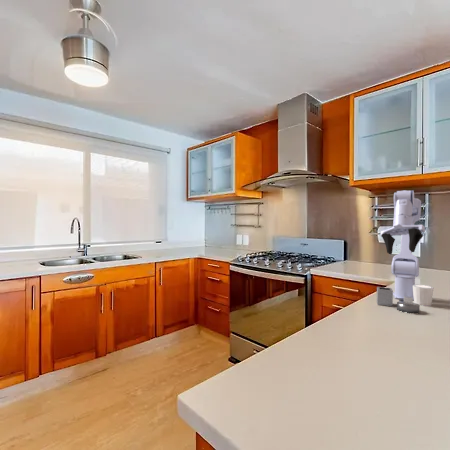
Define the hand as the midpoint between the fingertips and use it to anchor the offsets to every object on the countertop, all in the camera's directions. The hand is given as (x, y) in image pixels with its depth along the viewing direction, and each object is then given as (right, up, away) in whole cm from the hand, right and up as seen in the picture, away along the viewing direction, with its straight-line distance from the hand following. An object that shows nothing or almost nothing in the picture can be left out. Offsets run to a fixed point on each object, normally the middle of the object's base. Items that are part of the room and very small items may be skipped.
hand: (400, 252), depth 104 cm
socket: (0, -21, +11) cm, 24 cm away
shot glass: (+16, -22, +12) cm, 30 cm away
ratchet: (+6, -22, +6) cm, 23 cm away
